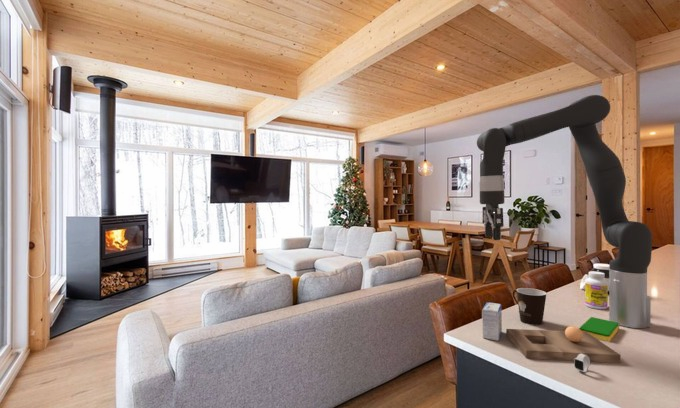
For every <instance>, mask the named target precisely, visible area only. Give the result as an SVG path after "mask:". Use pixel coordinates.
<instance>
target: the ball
mask: <svg viewBox="0 0 680 408" xmlns="http://www.w3.org/2000/svg"><path fill="white" fill-rule="evenodd" d="M579 328H580V327H577V326H568V327H566V329H565V330H564V331H565V335H566V337H567V338H568V339H569V340H570V341H573V342H579V341H581V340H582V338H583V333H582V331H581V330H580V329H579Z"/></svg>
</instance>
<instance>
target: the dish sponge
mask: <svg viewBox="0 0 680 408" xmlns="http://www.w3.org/2000/svg"><path fill="white" fill-rule="evenodd" d="M578 328H579V329H580V330H581V331H582V332H587V333H589V334H590V335H592V336H593V337H595V338H596V339H598V340H599V341H603V342H607V343H610V342H611V341H612V339H613V338H614V337H615V335H616V334H617V332H618V331H619V329H620V325H619V323H617V322H613V321H610V320H607V319H603V318H598V317H594V316H591V317H589V318H588V319H587V320H586V321H585V322H584V323H583V324H581V326H580V327H578Z"/></svg>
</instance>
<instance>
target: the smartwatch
mask: <svg viewBox="0 0 680 408" xmlns="http://www.w3.org/2000/svg"><path fill="white" fill-rule="evenodd" d="M573 361H574V365H573V366H574V368H575V369H576V370H577V371H579V372H582V373H586V372H588V370H589V367H590V366H591V361H590V358H589V357H588V356H587V355H584V354H582V353H581V354H579V355H578V356H577V358H575V359H574V360H573Z"/></svg>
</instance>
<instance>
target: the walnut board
mask: <svg viewBox="0 0 680 408" xmlns="http://www.w3.org/2000/svg"><path fill="white" fill-rule="evenodd" d="M505 329H506V330H505V332H506V333H505V334H506V337H507V338H508V339H509V341H511V343H512V344H513V345H514V346H515V347H516V349H518V351H519V352H520V353H521V354H522V355H523V356H524V357H525V359H539V360H555V361H556V360H557V361H574V359H575V358H577V356H578V355H579V354H581V353H582V354H584V355H587V356H588V357H589V358H590V362H595V363H597V362H599V363H615V364H621V354H620V353H618V352H617V351H615V349H612V348H611V347H609V346H608V345H607V344H605V343H604V342H602V340H599V339H596V338H595V337H593V336H592V335H590V334H589V333H587V332H582V333H583V338H582V340H581V341H579V342H573V341H570V340H569V339H568V338H567V337H566V335H565V330H547V329H523V328H522V329H520V328H519V329H518V328H505Z"/></svg>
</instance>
